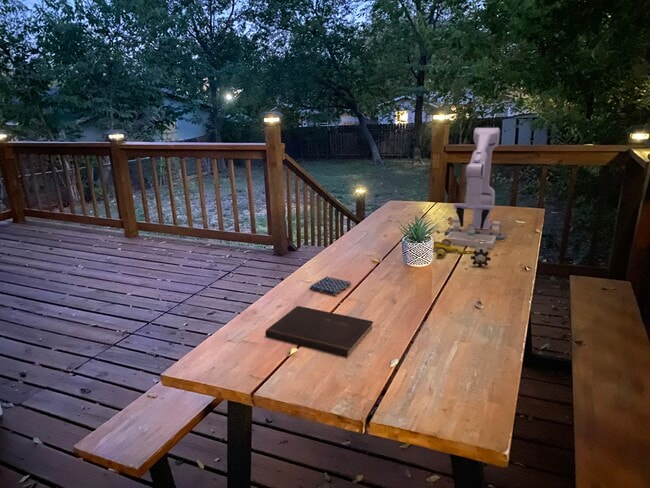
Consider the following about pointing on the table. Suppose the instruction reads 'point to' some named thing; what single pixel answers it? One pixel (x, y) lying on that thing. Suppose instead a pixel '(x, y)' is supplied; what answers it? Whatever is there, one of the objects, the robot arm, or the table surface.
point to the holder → (500, 237)
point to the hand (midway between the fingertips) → (471, 227)
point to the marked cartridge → (471, 232)
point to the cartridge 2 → (495, 228)
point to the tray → (462, 240)
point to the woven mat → (330, 286)
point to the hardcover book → (320, 330)
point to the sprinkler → (447, 248)
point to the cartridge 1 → (456, 224)
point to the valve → (481, 253)
